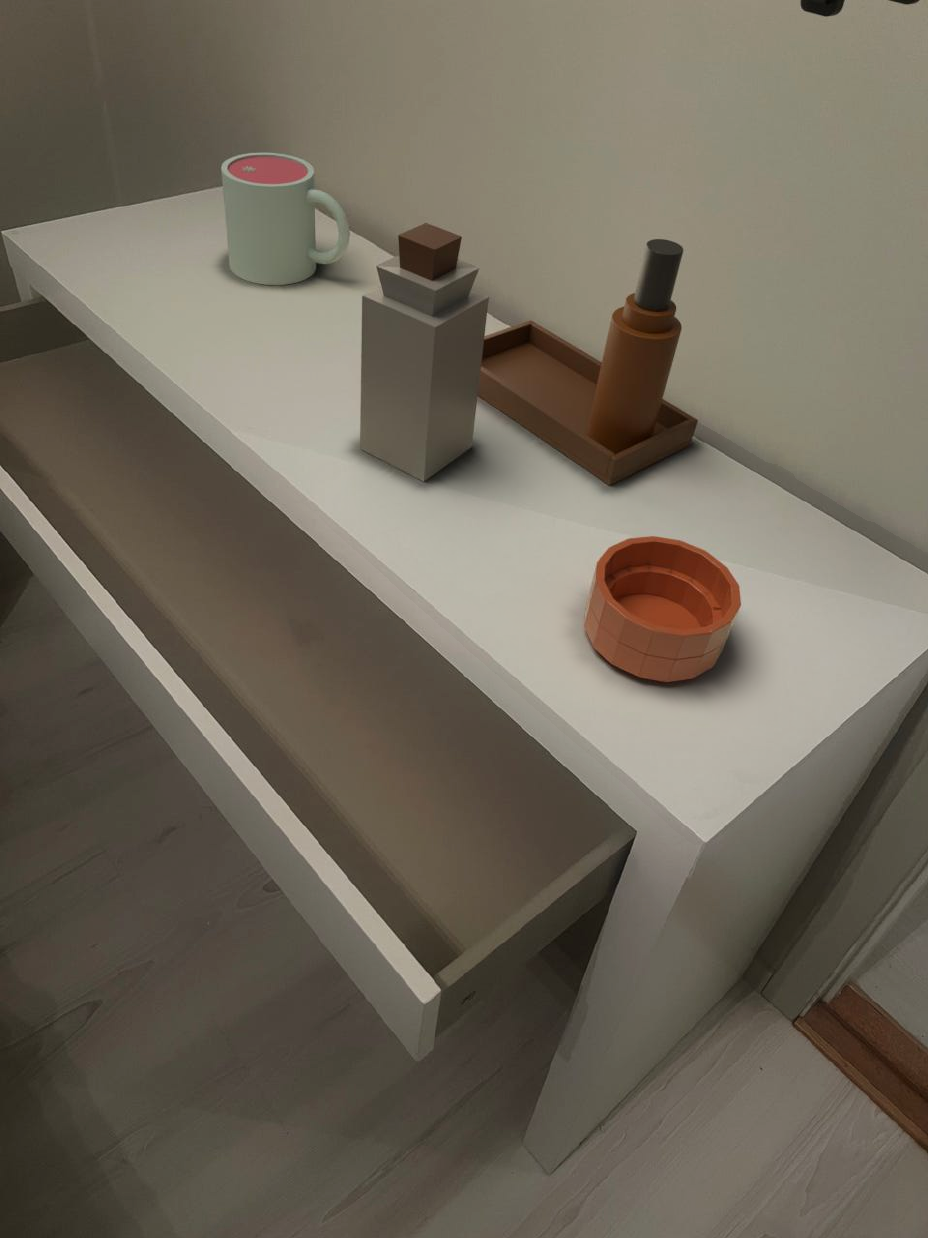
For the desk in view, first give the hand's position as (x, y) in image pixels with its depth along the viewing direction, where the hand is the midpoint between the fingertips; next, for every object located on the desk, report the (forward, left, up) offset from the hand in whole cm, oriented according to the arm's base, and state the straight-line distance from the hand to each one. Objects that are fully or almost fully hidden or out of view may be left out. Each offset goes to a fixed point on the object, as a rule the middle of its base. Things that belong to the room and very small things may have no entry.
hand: (860, 7), depth 53 cm
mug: (+43, -30, -35) cm, 63 cm away
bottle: (+7, -7, -34) cm, 36 cm away
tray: (+12, -11, -35) cm, 39 cm away
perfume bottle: (+24, -1, -35) cm, 42 cm away
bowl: (+4, +17, -35) cm, 39 cm away
